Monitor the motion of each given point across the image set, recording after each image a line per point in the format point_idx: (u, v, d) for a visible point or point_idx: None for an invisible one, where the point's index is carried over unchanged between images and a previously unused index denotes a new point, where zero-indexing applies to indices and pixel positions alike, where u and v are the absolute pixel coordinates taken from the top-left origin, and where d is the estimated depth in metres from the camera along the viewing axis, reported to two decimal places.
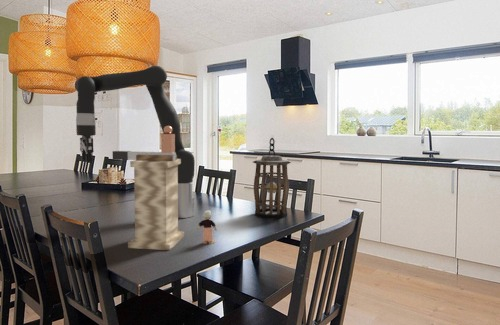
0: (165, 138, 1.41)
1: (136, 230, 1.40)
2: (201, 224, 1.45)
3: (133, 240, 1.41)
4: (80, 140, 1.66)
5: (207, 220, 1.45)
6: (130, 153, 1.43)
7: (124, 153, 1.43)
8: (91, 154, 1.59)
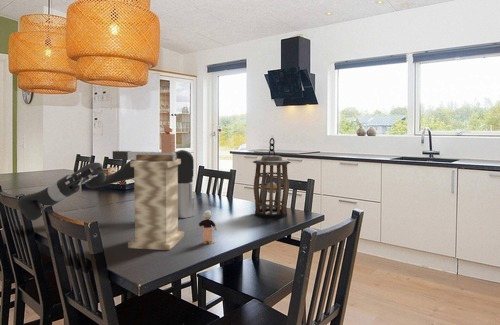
0: (165, 138, 1.41)
1: (136, 230, 1.40)
2: (201, 224, 1.45)
3: (133, 240, 1.41)
4: (67, 179, 1.42)
5: (207, 220, 1.45)
6: (130, 153, 1.43)
7: (124, 153, 1.43)
8: (96, 174, 1.52)
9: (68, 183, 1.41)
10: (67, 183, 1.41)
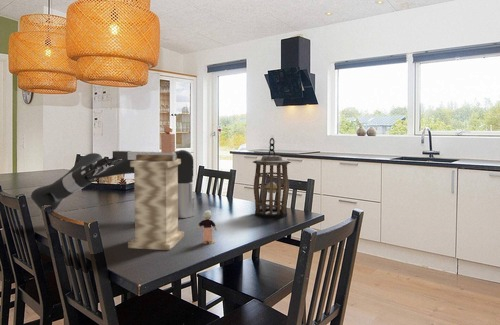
0: (165, 138, 1.41)
1: (136, 230, 1.40)
2: (201, 224, 1.45)
3: (133, 240, 1.41)
4: (83, 169, 1.40)
5: (207, 220, 1.45)
6: (130, 153, 1.43)
7: (124, 153, 1.43)
8: (111, 164, 1.50)
9: (84, 173, 1.40)
10: (83, 173, 1.40)
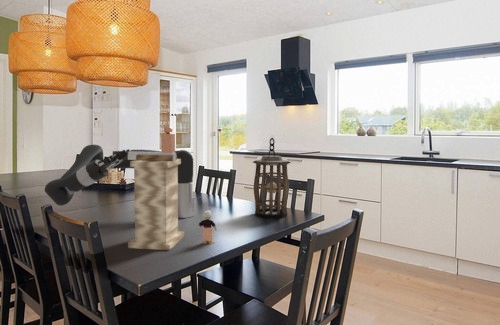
0: (165, 138, 1.41)
1: (136, 230, 1.40)
2: (201, 224, 1.45)
3: (133, 240, 1.41)
4: (100, 161, 1.41)
5: (207, 220, 1.45)
6: (130, 153, 1.43)
7: None
8: None
9: (102, 164, 1.40)
10: (101, 164, 1.40)
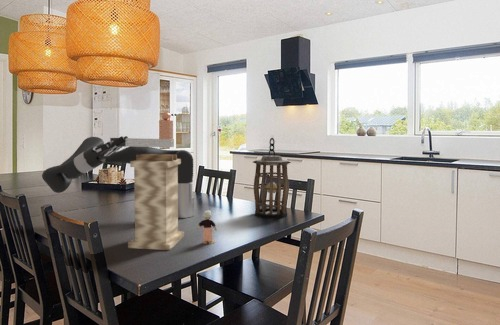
0: (163, 124, 1.40)
1: (136, 230, 1.40)
2: (201, 224, 1.45)
3: (133, 240, 1.41)
4: (98, 147, 1.40)
5: (207, 220, 1.45)
6: (128, 140, 1.43)
7: None
8: None
9: (100, 150, 1.39)
10: (99, 150, 1.39)
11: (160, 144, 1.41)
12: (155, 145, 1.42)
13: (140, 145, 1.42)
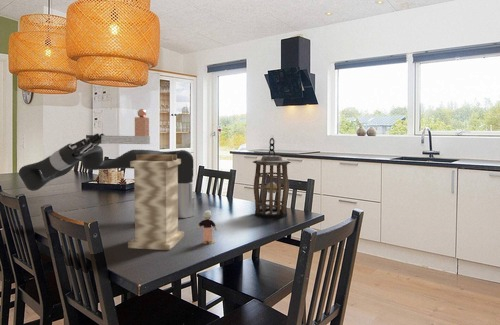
0: (138, 121, 1.41)
1: (136, 230, 1.40)
2: (201, 224, 1.45)
3: (133, 240, 1.41)
4: (73, 144, 1.40)
5: (207, 220, 1.45)
6: (104, 137, 1.43)
7: None
8: None
9: (75, 147, 1.39)
10: (74, 147, 1.39)
11: (136, 141, 1.42)
12: (131, 142, 1.42)
13: (116, 142, 1.43)
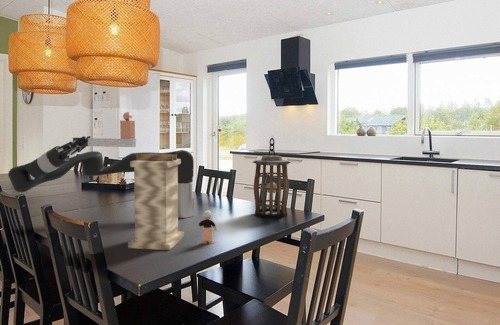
0: (124, 125, 1.42)
1: (136, 230, 1.40)
2: (201, 224, 1.45)
3: (133, 240, 1.41)
4: (60, 147, 1.42)
5: (207, 220, 1.45)
6: (90, 139, 1.45)
7: None
8: None
9: (62, 150, 1.41)
10: (60, 150, 1.41)
11: (121, 144, 1.43)
12: (116, 145, 1.44)
13: (102, 145, 1.44)
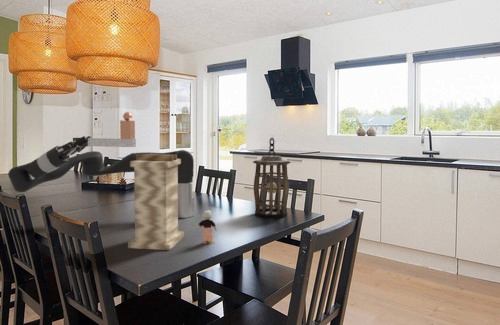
0: (124, 125, 1.42)
1: (136, 230, 1.40)
2: (201, 224, 1.45)
3: (133, 240, 1.41)
4: (60, 147, 1.42)
5: (207, 220, 1.45)
6: (90, 139, 1.45)
7: None
8: None
9: (62, 150, 1.41)
10: (60, 150, 1.41)
11: (121, 144, 1.43)
12: (116, 145, 1.44)
13: (102, 145, 1.44)
